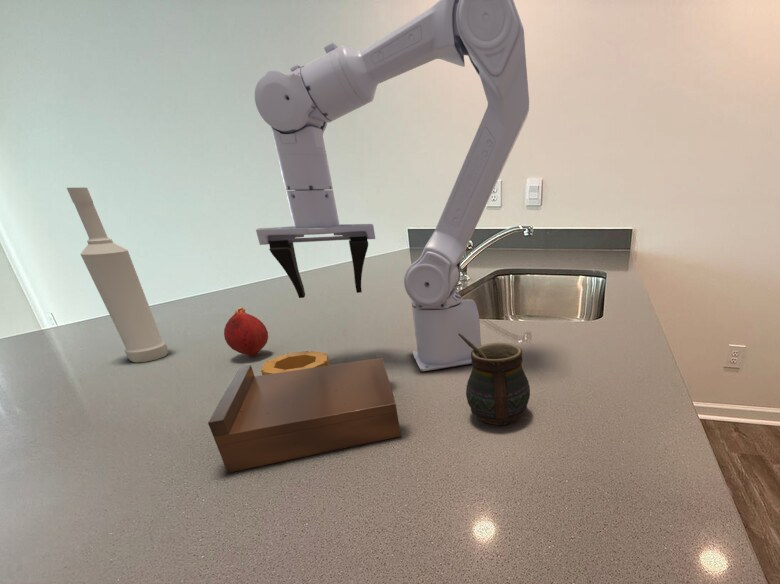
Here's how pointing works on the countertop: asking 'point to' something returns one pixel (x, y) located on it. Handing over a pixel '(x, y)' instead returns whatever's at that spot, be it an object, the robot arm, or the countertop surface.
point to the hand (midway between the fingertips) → (331, 293)
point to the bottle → (118, 285)
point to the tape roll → (295, 362)
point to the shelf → (303, 413)
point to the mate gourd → (497, 383)
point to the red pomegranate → (245, 333)
